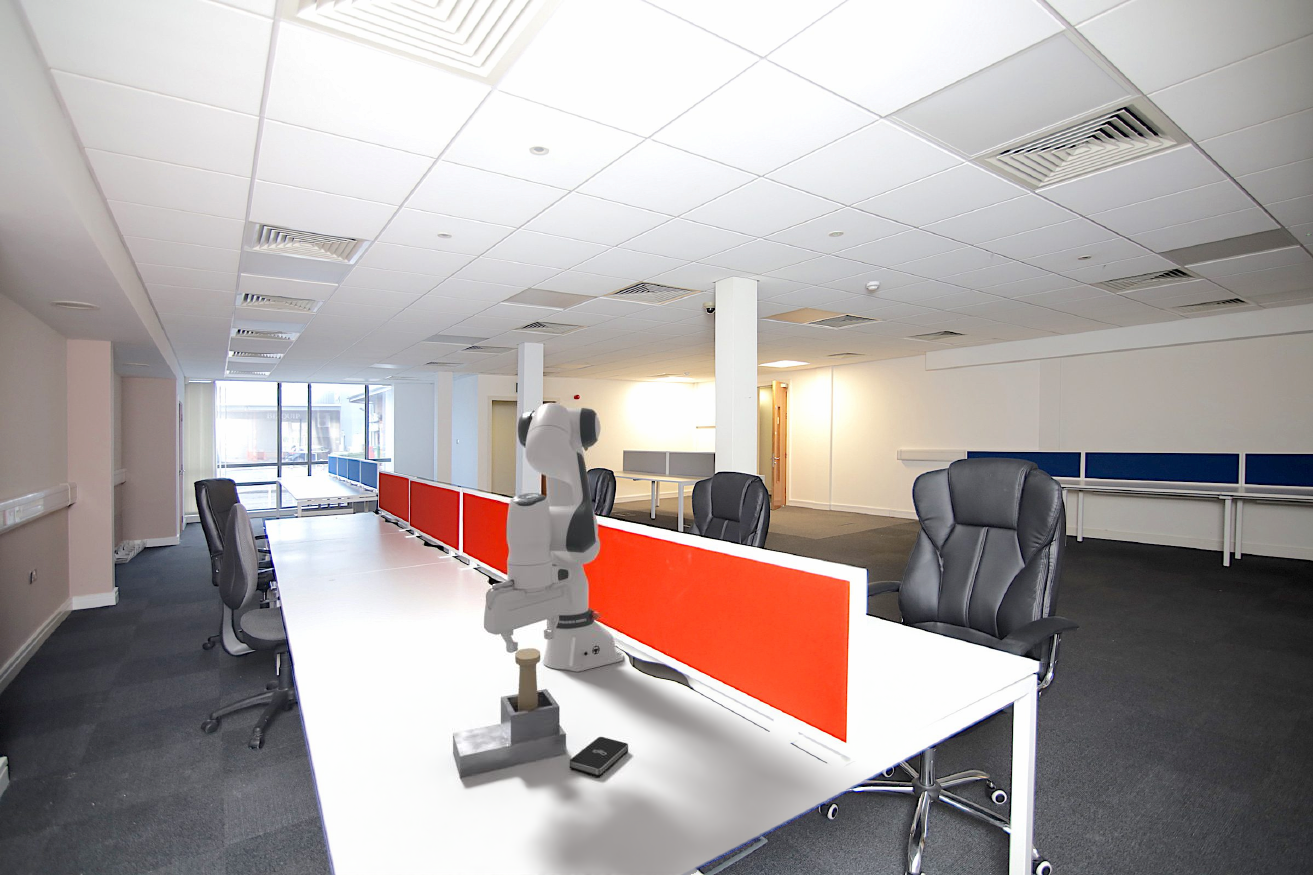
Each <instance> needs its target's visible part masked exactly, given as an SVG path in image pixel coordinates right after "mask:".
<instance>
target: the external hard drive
mask: <svg viewBox="0 0 1313 875" xmlns="http://www.w3.org/2000/svg"><path fill="white" fill-rule="evenodd" d="M628 753H629V744H628V743H627V742H624V741H619V740H616V739H612V738H608V737H605V736H598V737H597V738H595V739H594V740H593V741H591V743H589V744H588V745H586V747H584V748H582V749H581V750H580V751H579V752H578V753H576V754H575V755H574V756H573V757H571V758H570V759H569V770H570V771H572V772H576V773H579V774H584V775H586V776H590V777H593V778H596V779H600V778H602V777H603V776H604V775H605V774H606V773H607V772H608V771H610V769H611V768H613V767H614V766H615V765H616V764H617V763H618V762H619V761H620V760H622V759H623V758H624V757H625V756H626V755H627V754H628Z"/></svg>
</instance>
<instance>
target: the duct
mask: <svg viewBox="0 0 1313 875" xmlns="http://www.w3.org/2000/svg"><path fill="white" fill-rule="evenodd" d="M537 694H538V708H536V709H531V710H526V711H521V712H518V693H517V694H515V693H514V694H510V695H504V696H500V723H497V724H491V725H488V726H483V727H477V728H471V729H466V730H462V731H456V732H452V754H453V758H454V762H455V765H456V770H457V772H458V776H459V779H463V778H467V777H472V776H476V775H480V774H481V775H482V774H485V773H486V774H487V773H489V772H490V773H491V772H494V771H499V770H503V769H507V768H511V767H516V766H521V765H525V764H530V763H533V762H539V761H541V760H547V759H551V758H555V757H560V756H565V755H567V733H566V732H565V730H564V729H563V727H562V726H561V724H560V717H561V716H560V705H559V704H558V702H557V701H556V700H555V698H554V697H553V696H552V694H551V693H550V692H549V690H548V688H545V689H537Z"/></svg>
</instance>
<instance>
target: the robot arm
mask: <svg viewBox="0 0 1313 875" xmlns="http://www.w3.org/2000/svg"><path fill="white" fill-rule="evenodd" d="M600 433H601V422H600V419H599V417H598V414H597V412H596V411H595V410H594V409H591V408H588V407H581V408H575V407H565V406H563V405H562V404H559V403H556V402H548V403H543V404H542V405H540V406H539V407H538V408H537V409H536V410H530V411H529V410H528V411H526V412H523V413H522V414H521V416H520V417H519V418H518V422H517V427H516V435H517V438H518V440H519V443H520V445H521V446H523V448H524V449H525V458H526V461H527V462H528V464H529V465H530V467H532V468H533V470H535V471H536V472H538V473H540V474H541V475H542V476H545V484H546V485H545V486H546V495H544V494H542V493H538V492H537V493H536V492H530V493H529V492H528V493H522V494H517V495H515V496H513V497H512V498H511V499H510V500H509V504H508V510H507V521H506V524H505V525H506V527H505V528H506V529H505V530H506V532H505V533H506V543H507V546H508V557H507V560H506V565H507V568H506V570H507V571H506V572H507V580H505V581H503V582H498V583H494V584H492V585H491V587H489V589H488V590H487V591H486V593H485V605H484V606H485V607H484V614H483V615H484V616H483V628H484V630H485V631H486V632H487V633H489V634H492V635H495V636H496V635H500V636H501V637H502V639H503V641H504V642H505V650H506V652H507V653H509V654H513V653H516V652H517V651H518V650H519V642H518V641H515V640H514V639H513V637H512V636H514V630H517V629H520V628H523V627H527V626H530V625H533V624H537V623H540V622H542V621H546V629H544V630H543V638H544V640H546V647H545V652H544V656H543V659H542V663H543V664H544V666H546V667H548V668H551V669H556V670H567V671H572V672H575V673H576V672H578V673H579V672H583V671H586V670H591V669H594V668H599V667H603V666H606V665H610V664H614V663H618V662H622V661H623V660H624V652H623V651H622V650H621V649H620V648H618V647H617V646H616V643H615V639H614V638H615V637H614V636H613V634H612V633H611V632H610V631H609V630H607V629H606V628H605V627H603V625H601V624H600V623H598V622H597V621H598V620H600V618H601V614H600V612H598V611H596V610H594V609H591V608H590V607H589V581H588V578H587V576H586V573H585V570H584V565H586V564H589V563H591V562H593V561H594V560H595V559H596V558H597V557H598V555H599V553H600V549H601V540H600V537H599V536H598V534H599V524H598V520H597V516H596V513H595V512H594V511H595V510H594V508H593V504H592V495H591V489H590V482H589V475H588V472H587V467H586V462H585V455H584V451H585V452H587V451H588V450H589V448H591V447H592V446H595V444H596V443H597V442H598V440H599V436H600ZM595 620H596V621H595Z"/></svg>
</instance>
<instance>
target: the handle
mask: <svg viewBox="0 0 1313 875" xmlns="http://www.w3.org/2000/svg"><path fill="white" fill-rule="evenodd" d="M514 653H515V656H514V657H515V658H514V659H515V664H516V665H518V666H519V667H518V668H519V671H518V672H519V674H518V693H517V694H518V712H521V711H526V710H531V709H536V708H538V694H537V691H538V682H537V680H538V679H537V664H538V663H540V662H541V652H540V650H539V649H536V648H533V647H532V648H531V647H530V648H521V649H518V651H515V652H514Z"/></svg>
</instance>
